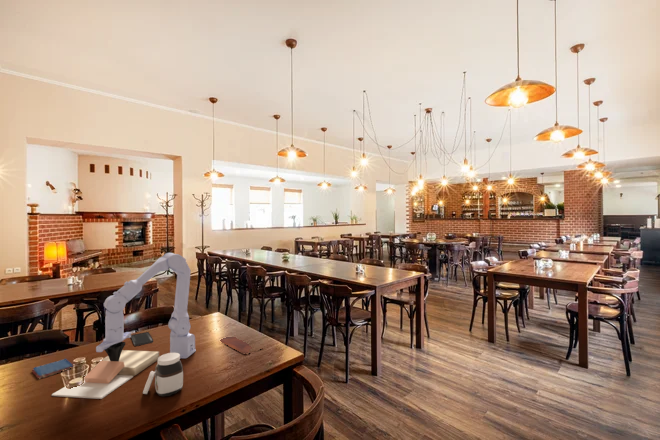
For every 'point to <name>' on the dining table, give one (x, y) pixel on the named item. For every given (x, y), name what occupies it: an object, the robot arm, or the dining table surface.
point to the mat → (93, 388)
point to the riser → (135, 361)
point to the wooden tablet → (236, 344)
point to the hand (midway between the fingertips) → (114, 363)
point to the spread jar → (166, 375)
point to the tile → (104, 372)
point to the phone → (141, 338)
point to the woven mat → (51, 368)
